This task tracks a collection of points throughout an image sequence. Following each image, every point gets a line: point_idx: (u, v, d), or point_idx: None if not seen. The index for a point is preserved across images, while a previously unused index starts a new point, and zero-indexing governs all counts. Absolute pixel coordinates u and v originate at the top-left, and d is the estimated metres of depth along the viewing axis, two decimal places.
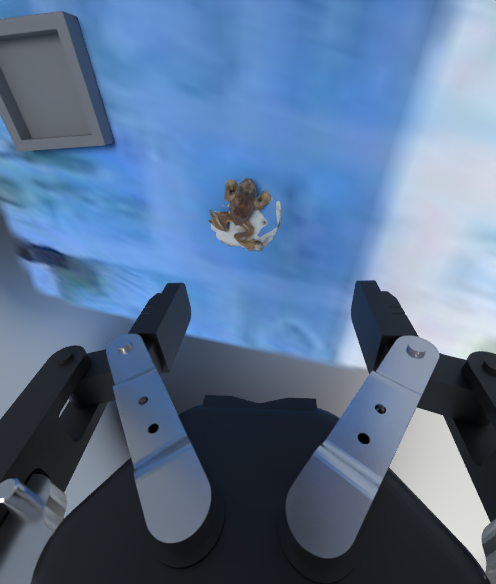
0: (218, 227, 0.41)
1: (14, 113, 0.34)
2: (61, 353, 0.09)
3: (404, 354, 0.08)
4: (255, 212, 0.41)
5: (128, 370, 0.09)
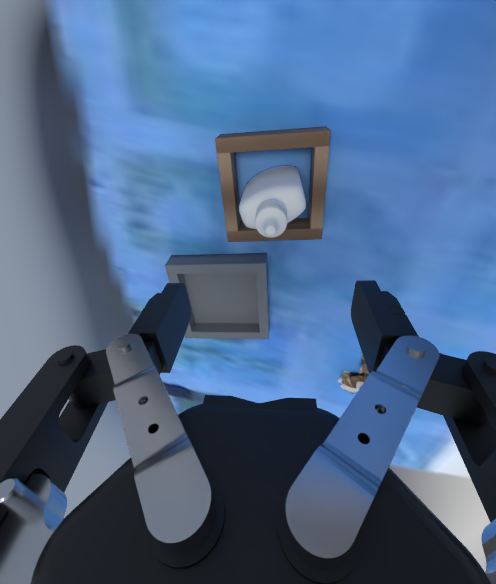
0: (348, 385, 0.45)
1: None
2: (61, 353, 0.09)
3: (404, 354, 0.08)
4: None
5: (128, 370, 0.09)
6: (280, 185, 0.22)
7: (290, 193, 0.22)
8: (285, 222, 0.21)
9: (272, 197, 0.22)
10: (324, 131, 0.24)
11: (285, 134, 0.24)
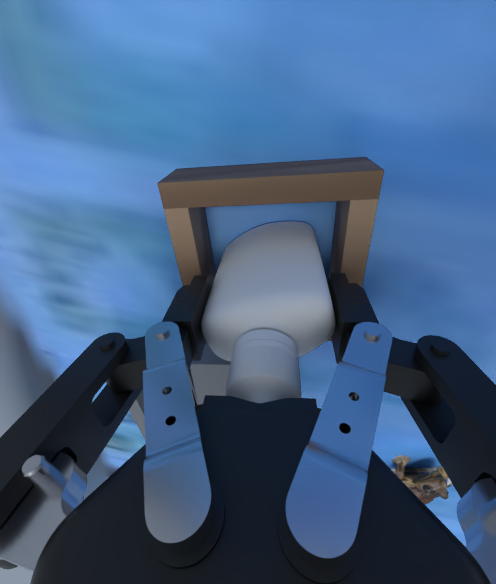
0: None
1: None
2: (103, 339, 0.10)
3: (360, 338, 0.09)
4: None
5: (169, 355, 0.09)
6: (283, 292, 0.10)
7: (306, 314, 0.10)
8: None
9: (266, 323, 0.10)
10: (371, 172, 0.12)
11: (292, 177, 0.12)
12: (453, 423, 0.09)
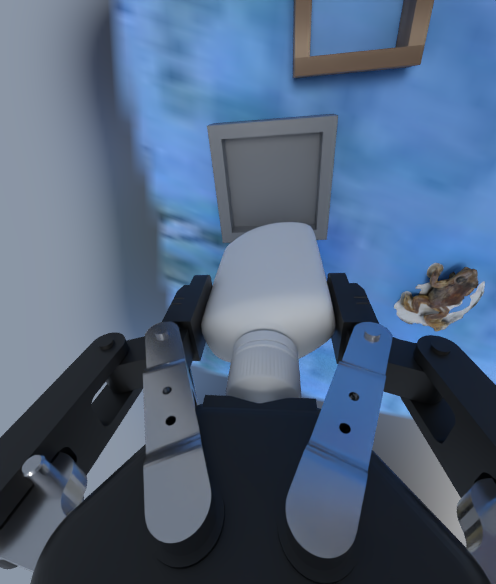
0: (408, 309, 0.38)
1: (230, 206, 0.32)
2: (103, 339, 0.10)
3: (360, 338, 0.09)
4: None
5: (169, 355, 0.09)
6: (283, 293, 0.10)
7: (306, 315, 0.10)
8: None
9: (266, 324, 0.10)
10: None
11: None
12: (453, 423, 0.09)
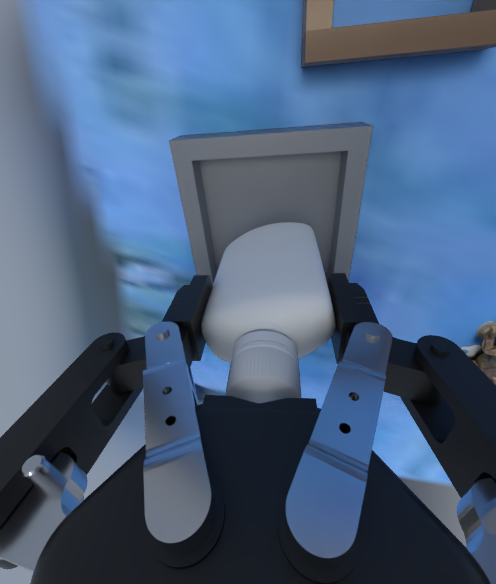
0: None
1: (210, 250, 0.22)
2: (103, 339, 0.10)
3: (360, 338, 0.09)
4: None
5: (169, 355, 0.09)
6: (283, 294, 0.10)
7: (306, 315, 0.10)
8: None
9: (266, 324, 0.10)
10: None
11: None
12: (453, 423, 0.09)
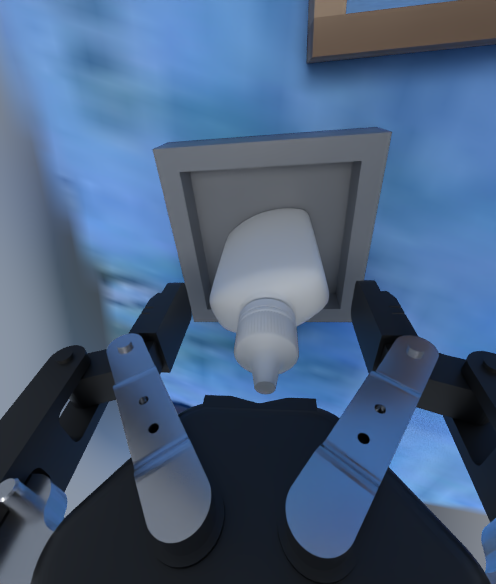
0: None
1: (203, 270, 0.20)
2: (61, 353, 0.09)
3: (403, 354, 0.08)
4: None
5: (129, 370, 0.09)
6: (281, 267, 0.12)
7: (302, 284, 0.12)
8: (294, 355, 0.10)
9: (267, 293, 0.12)
10: None
11: None
12: None
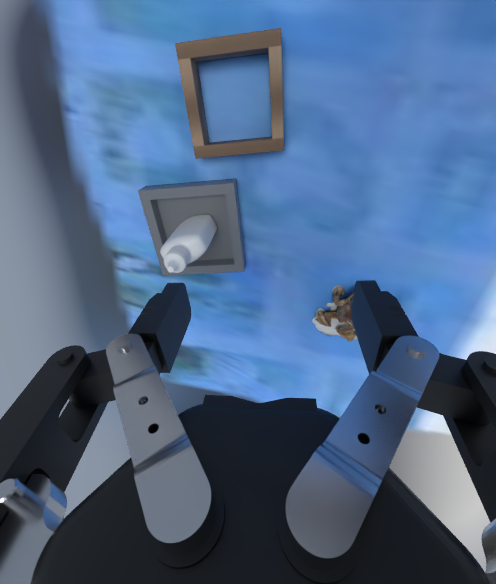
0: (322, 323, 0.45)
1: None
2: (61, 353, 0.09)
3: (404, 354, 0.08)
4: None
5: (128, 370, 0.09)
6: (184, 235, 0.32)
7: (191, 241, 0.31)
8: (183, 262, 0.30)
9: (178, 244, 0.31)
10: (275, 29, 0.25)
11: (239, 35, 0.26)
12: None
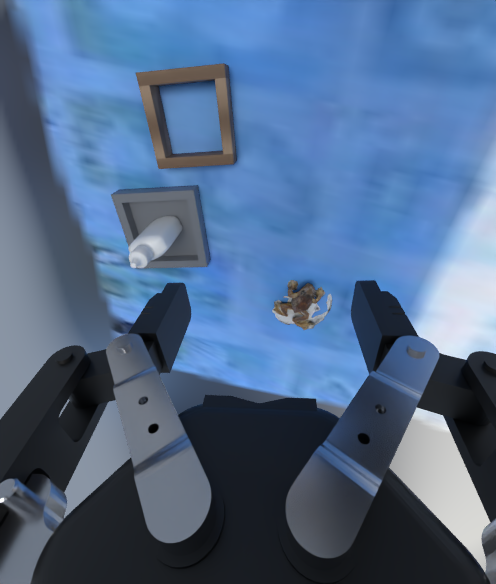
0: (280, 313, 0.51)
1: None
2: (61, 353, 0.09)
3: (404, 354, 0.08)
4: None
5: (128, 370, 0.09)
6: (148, 235, 0.37)
7: (154, 240, 0.36)
8: (145, 259, 0.35)
9: (142, 243, 0.36)
10: (219, 64, 0.30)
11: (190, 68, 0.30)
12: None
